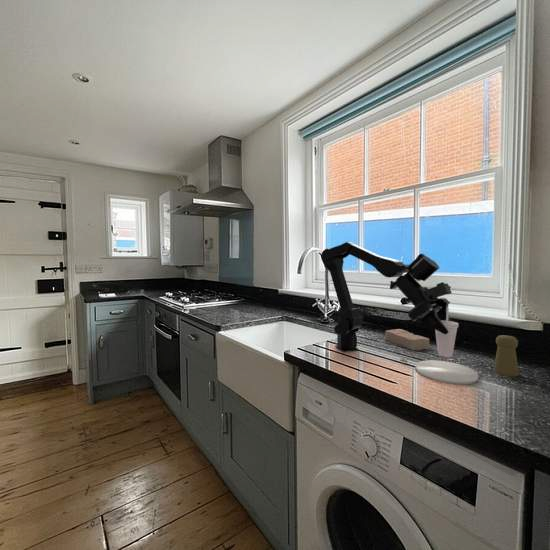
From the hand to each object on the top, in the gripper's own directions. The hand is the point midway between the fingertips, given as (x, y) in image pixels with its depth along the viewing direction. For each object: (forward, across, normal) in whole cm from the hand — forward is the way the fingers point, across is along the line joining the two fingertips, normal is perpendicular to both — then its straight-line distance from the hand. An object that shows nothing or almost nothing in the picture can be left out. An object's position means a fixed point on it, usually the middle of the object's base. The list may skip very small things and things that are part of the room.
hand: (450, 331), depth 85 cm
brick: (-6, +24, +25) cm, 35 cm away
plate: (+8, 0, +10) cm, 13 cm away
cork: (+17, +14, +1) cm, 22 cm away
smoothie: (+4, 0, +6) cm, 7 cm away
